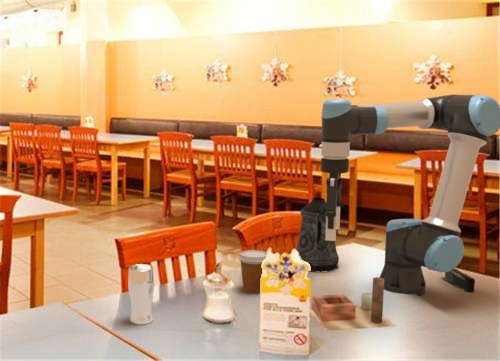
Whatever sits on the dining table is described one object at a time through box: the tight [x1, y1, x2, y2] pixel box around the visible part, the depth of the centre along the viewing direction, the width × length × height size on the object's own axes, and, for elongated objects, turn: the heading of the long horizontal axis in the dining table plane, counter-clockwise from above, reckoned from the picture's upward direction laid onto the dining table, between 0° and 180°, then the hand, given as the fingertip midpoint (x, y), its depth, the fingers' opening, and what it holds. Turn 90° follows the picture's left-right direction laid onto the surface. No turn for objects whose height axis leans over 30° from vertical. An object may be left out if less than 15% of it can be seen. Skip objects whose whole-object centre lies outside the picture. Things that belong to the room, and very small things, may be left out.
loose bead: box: [360, 292, 372, 311], centre depth 180 cm, size 4×4×4 cm
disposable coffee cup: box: [238, 249, 268, 294], centre depth 197 cm, size 10×10×12 cm
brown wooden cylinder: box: [371, 276, 385, 323], centre depth 169 cm, size 3×3×12 cm
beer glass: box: [127, 263, 155, 326], centre depth 168 cm, size 7×7×15 cm
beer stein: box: [295, 197, 340, 273], centre depth 224 cm, size 16×19×25 cm
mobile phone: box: [441, 267, 476, 293], centre depth 207 cm, size 5×3×15 cm
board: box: [309, 294, 397, 331], centre depth 172 cm, size 20×16×5 cm
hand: (332, 234), depth 170 cm, fingers open, 13 cm apart
